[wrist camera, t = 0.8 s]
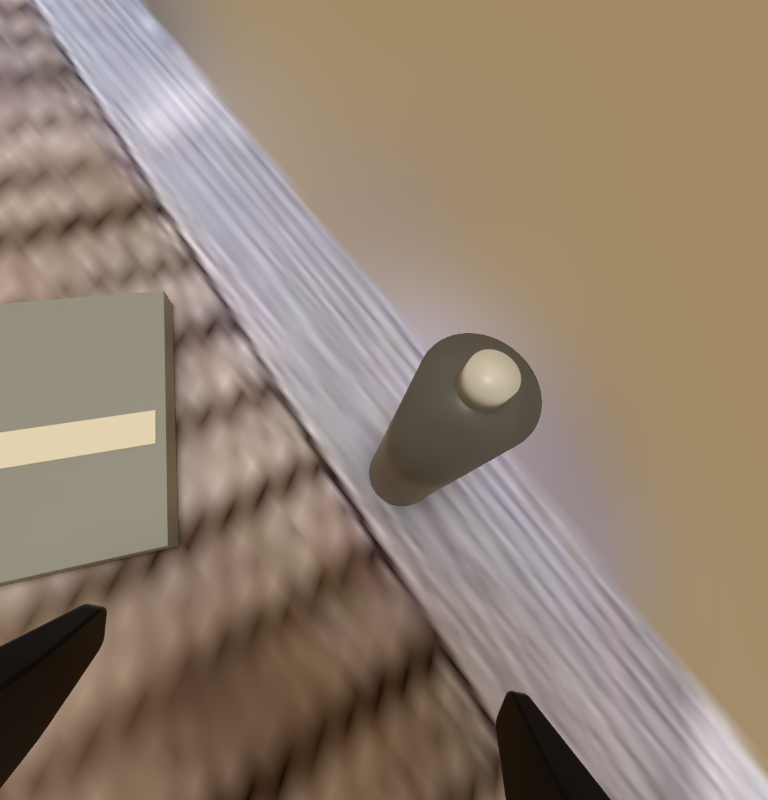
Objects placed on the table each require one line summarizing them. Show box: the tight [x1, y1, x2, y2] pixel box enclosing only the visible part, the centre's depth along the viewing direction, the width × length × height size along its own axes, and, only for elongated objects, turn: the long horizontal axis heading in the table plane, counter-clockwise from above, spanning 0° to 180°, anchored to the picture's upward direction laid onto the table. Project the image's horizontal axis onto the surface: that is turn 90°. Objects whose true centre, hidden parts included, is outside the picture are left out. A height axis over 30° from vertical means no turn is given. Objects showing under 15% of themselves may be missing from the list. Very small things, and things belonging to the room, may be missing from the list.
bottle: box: [369, 333, 542, 506], centre depth 17 cm, size 4×4×14 cm
